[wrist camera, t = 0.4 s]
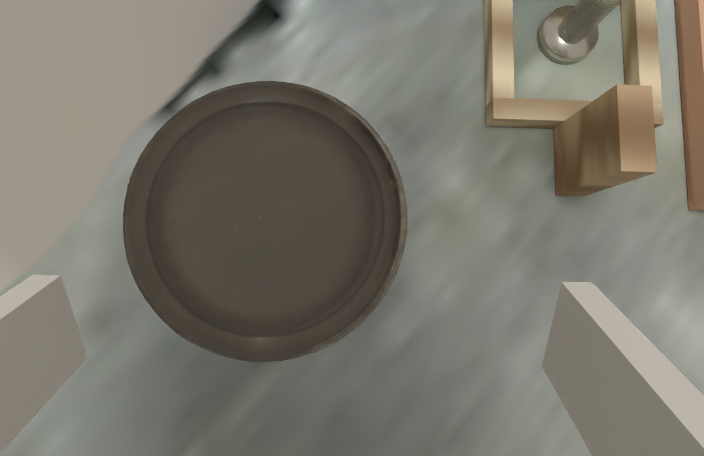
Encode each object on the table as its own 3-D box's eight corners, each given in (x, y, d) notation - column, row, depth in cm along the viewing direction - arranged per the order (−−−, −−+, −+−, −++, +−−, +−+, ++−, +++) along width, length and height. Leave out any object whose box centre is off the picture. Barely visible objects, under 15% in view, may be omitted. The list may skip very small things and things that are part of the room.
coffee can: (295, 350, 28) (247, 427, 14) (199, 237, 29) (61, 202, 15) (406, 250, 29) (466, 228, 15) (310, 143, 30) (281, 25, 16)
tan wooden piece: (651, 198, 30) (745, 175, 23) (486, 193, 29) (531, 168, 22) (638, -20, 32) (722, -102, 25) (484, -26, 31) (524, -111, 24)
